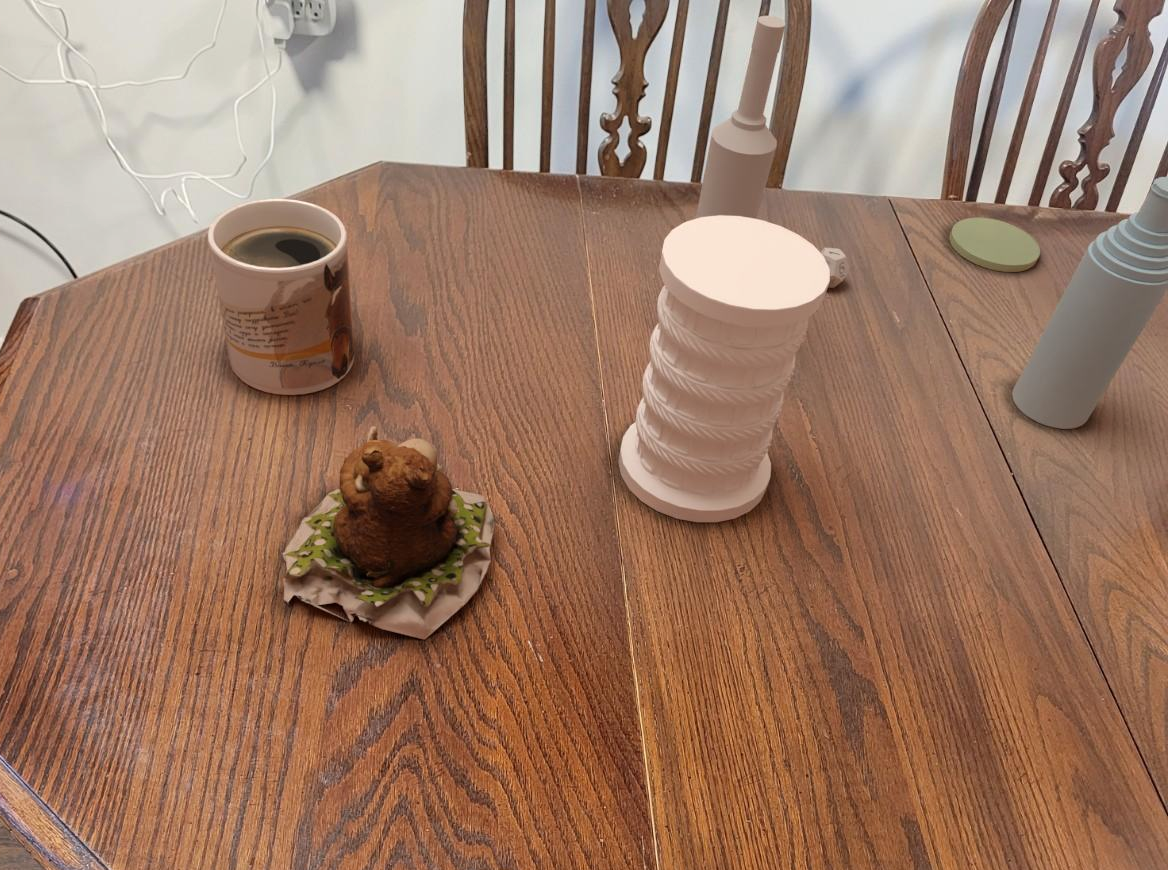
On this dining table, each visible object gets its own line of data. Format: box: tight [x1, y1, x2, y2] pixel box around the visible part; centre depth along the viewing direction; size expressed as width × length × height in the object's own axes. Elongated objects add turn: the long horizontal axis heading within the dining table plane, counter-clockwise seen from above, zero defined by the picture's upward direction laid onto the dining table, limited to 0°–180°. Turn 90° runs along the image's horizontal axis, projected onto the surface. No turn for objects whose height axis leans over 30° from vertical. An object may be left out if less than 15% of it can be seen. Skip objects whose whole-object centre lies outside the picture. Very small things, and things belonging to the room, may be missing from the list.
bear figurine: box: [282, 425, 496, 640], centre depth 67 cm, size 14×15×12 cm
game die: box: [819, 247, 851, 289], centre depth 98 cm, size 4×4×3 cm
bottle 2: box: [1011, 176, 1168, 430], centre depth 83 cm, size 7×7×20 cm
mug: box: [207, 198, 355, 396], centre depth 81 cm, size 10×12×11 cm
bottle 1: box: [695, 15, 786, 219], centre depth 84 cm, size 5×5×25 cm
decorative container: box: [617, 215, 830, 523], centre depth 73 cm, size 12×12×18 cm
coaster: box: [948, 217, 1041, 273], centre depth 107 cm, size 9×9×1 cm
